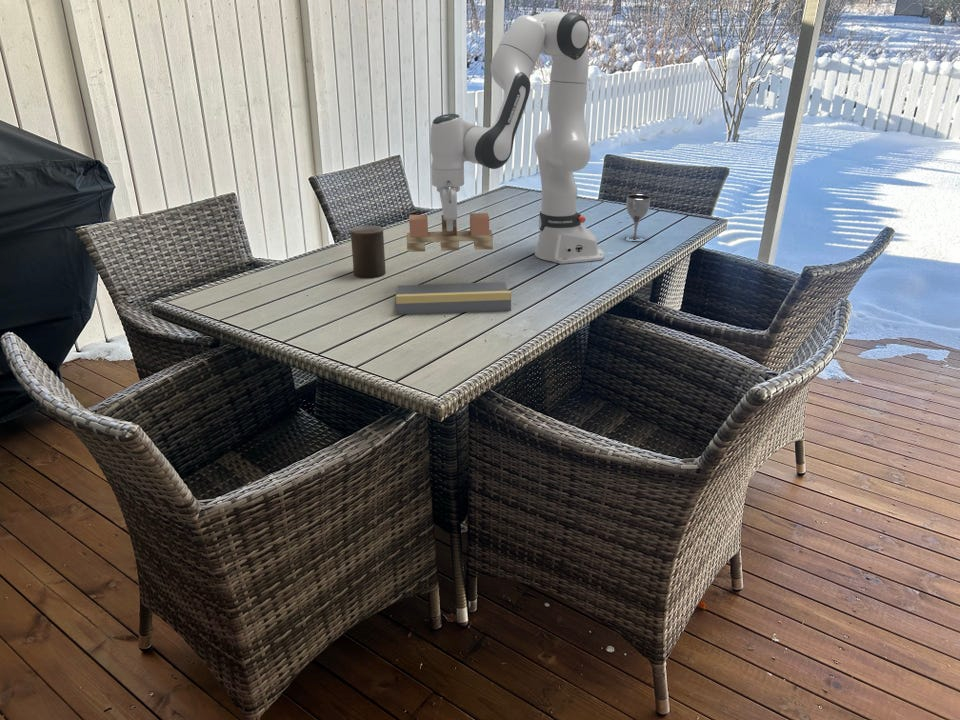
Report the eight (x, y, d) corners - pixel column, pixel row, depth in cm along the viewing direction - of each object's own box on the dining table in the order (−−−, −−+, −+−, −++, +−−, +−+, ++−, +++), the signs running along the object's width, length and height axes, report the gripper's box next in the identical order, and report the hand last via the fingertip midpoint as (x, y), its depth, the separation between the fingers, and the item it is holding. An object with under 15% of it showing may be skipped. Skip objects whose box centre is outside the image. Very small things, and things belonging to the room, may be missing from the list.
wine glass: (621, 241, 236) (624, 198, 230) (625, 235, 243) (629, 193, 236) (644, 243, 234) (648, 200, 227) (647, 237, 240) (652, 195, 234)
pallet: (490, 243, 195) (490, 212, 191) (492, 249, 190) (492, 217, 186) (407, 246, 193) (405, 215, 189) (407, 251, 188) (405, 220, 184)
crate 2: (487, 230, 193) (487, 212, 191) (489, 235, 189) (489, 217, 186) (470, 230, 193) (469, 213, 190) (471, 235, 188) (471, 217, 186)
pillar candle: (371, 280, 200) (368, 230, 194) (347, 274, 205) (343, 225, 199) (392, 271, 208) (389, 223, 201) (368, 266, 212) (364, 219, 206)
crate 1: (427, 232, 192) (427, 214, 190) (428, 237, 187) (427, 219, 185) (410, 232, 191) (409, 215, 189) (410, 237, 187) (409, 219, 185)
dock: (504, 292, 191) (504, 275, 189) (510, 310, 179) (511, 292, 176) (398, 295, 189) (397, 278, 187) (396, 314, 176) (395, 296, 174)
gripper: (461, 185, 174) (462, 238, 180) (457, 170, 192) (458, 218, 199) (437, 186, 174) (439, 238, 180) (435, 171, 192) (437, 219, 198)
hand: (449, 228), depth 189 cm, fingers closed on pallet, 3 cm apart
